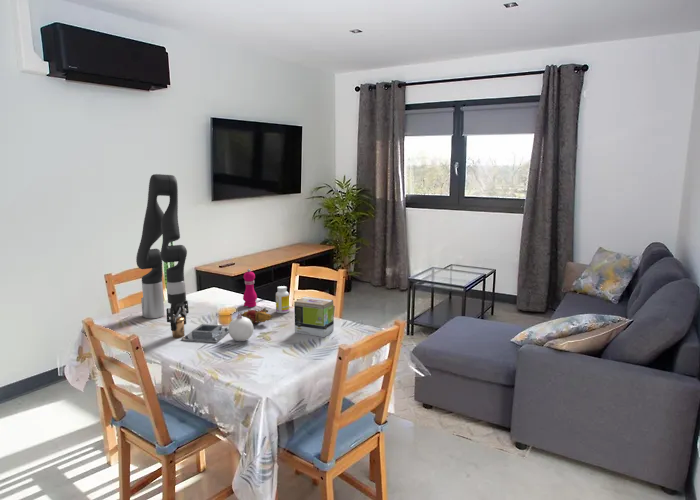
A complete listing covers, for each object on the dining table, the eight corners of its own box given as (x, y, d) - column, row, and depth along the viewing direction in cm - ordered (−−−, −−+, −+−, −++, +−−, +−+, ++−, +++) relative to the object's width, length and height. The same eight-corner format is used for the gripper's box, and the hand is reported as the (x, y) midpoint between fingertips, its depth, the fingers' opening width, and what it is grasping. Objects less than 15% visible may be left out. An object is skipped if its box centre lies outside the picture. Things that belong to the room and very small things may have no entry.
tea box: (334, 330, 223) (334, 299, 221) (323, 338, 214) (323, 305, 212) (305, 326, 230) (304, 295, 227) (294, 332, 221) (293, 300, 218)
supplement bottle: (291, 310, 253) (291, 286, 251) (285, 314, 247) (285, 289, 245) (279, 309, 255) (279, 285, 253) (273, 312, 249) (273, 288, 247)
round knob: (169, 337, 214) (168, 320, 212) (175, 333, 219) (174, 316, 218) (181, 338, 213) (180, 320, 212) (187, 334, 218) (186, 316, 217)
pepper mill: (255, 307, 258) (254, 270, 254) (241, 307, 258) (240, 270, 254) (258, 303, 265) (257, 267, 261) (245, 303, 265) (243, 267, 261)
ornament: (232, 346, 204) (231, 318, 202) (226, 338, 213) (225, 311, 211) (256, 342, 209) (255, 315, 207) (249, 334, 218) (248, 308, 216)
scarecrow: (240, 330, 224) (240, 314, 223) (237, 319, 239) (236, 303, 238) (278, 326, 229) (277, 310, 228) (272, 315, 244) (272, 300, 243)
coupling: (181, 340, 211) (180, 333, 210) (198, 328, 226) (198, 321, 226) (216, 343, 208) (216, 335, 207) (231, 330, 223) (231, 323, 223)
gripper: (176, 287, 220) (179, 322, 223) (159, 295, 206) (162, 332, 209) (192, 287, 219) (194, 322, 222) (176, 295, 205) (178, 333, 208)
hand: (178, 327), depth 215 cm, fingers open, 8 cm apart
